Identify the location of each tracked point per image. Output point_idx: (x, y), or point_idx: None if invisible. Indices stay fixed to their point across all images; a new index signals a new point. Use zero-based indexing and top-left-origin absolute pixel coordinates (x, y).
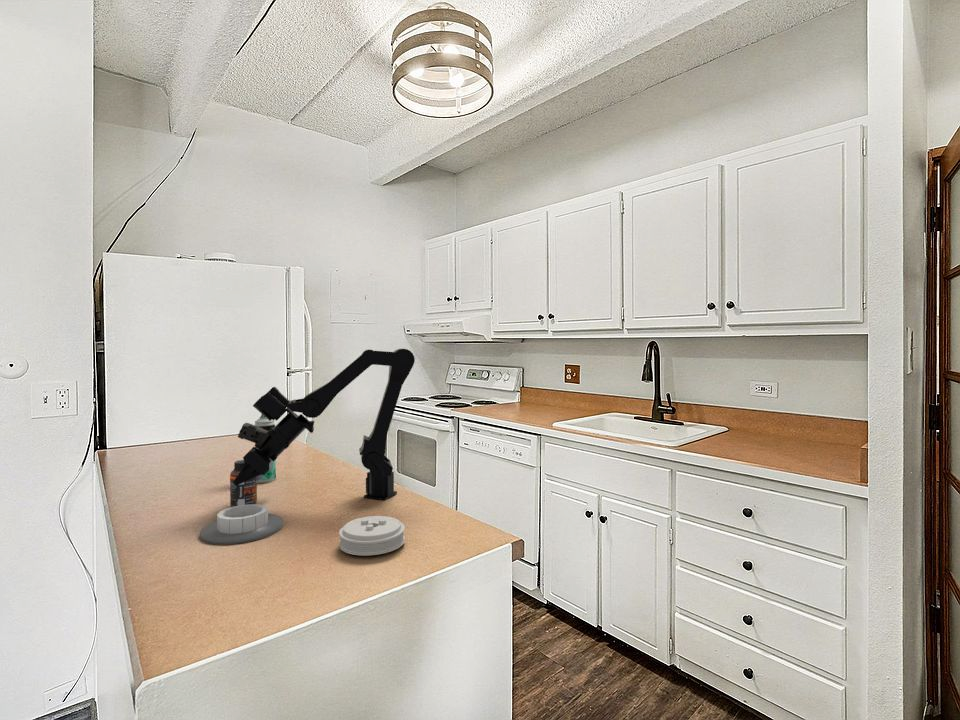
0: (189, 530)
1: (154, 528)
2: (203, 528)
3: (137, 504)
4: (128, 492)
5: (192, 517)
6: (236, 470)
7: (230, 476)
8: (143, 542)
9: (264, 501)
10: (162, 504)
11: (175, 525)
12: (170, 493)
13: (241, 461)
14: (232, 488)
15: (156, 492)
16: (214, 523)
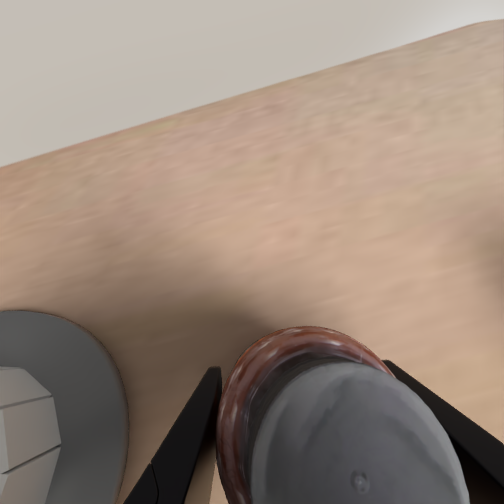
0: (79, 267)
1: (141, 179)
2: (12, 314)
3: (349, 95)
4: (444, 56)
5: (204, 241)
6: (261, 390)
7: (266, 336)
8: (39, 188)
9: None
10: (343, 139)
11: (145, 218)
12: (442, 129)
13: (345, 459)
14: (243, 353)
15: (449, 100)
16: (50, 337)
